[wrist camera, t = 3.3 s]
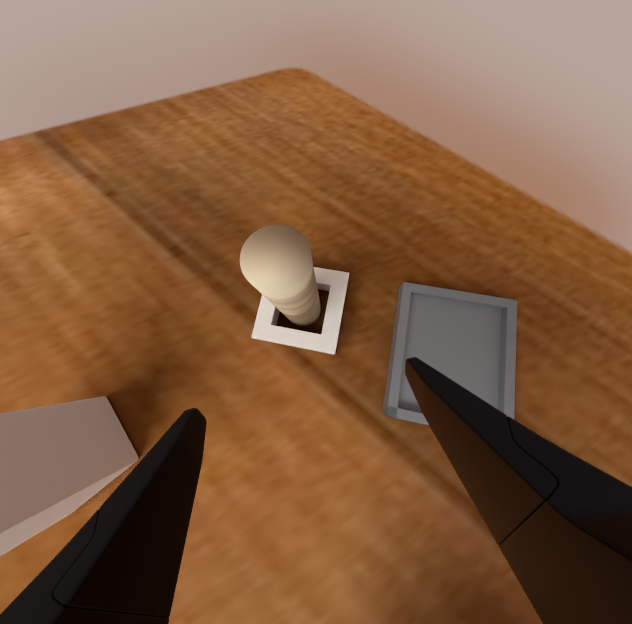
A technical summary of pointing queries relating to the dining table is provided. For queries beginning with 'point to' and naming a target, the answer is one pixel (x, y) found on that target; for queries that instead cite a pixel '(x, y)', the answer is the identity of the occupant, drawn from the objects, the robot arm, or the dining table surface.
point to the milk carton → (56, 463)
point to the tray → (453, 346)
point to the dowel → (283, 271)
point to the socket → (302, 339)
